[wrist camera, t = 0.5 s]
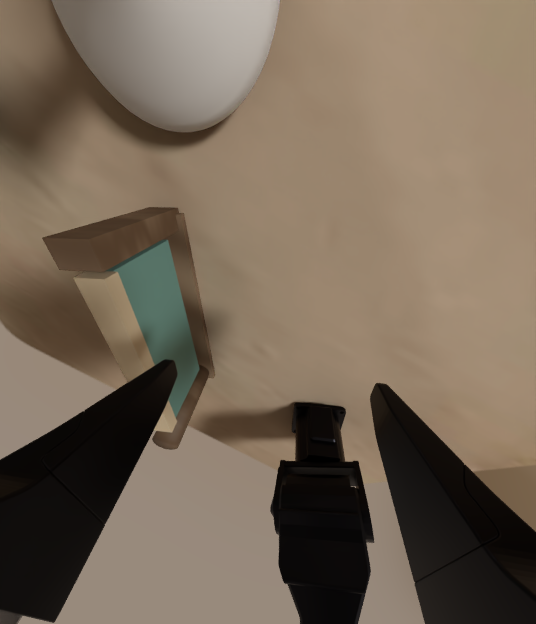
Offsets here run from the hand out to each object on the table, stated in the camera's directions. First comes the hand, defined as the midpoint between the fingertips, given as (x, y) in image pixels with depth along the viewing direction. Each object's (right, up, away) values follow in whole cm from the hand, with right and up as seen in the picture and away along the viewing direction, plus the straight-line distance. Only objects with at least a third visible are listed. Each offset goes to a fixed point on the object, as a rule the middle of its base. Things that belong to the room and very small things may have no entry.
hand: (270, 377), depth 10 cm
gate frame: (-8, +3, +13) cm, 16 cm away
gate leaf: (-9, +2, +12) cm, 15 cm away
